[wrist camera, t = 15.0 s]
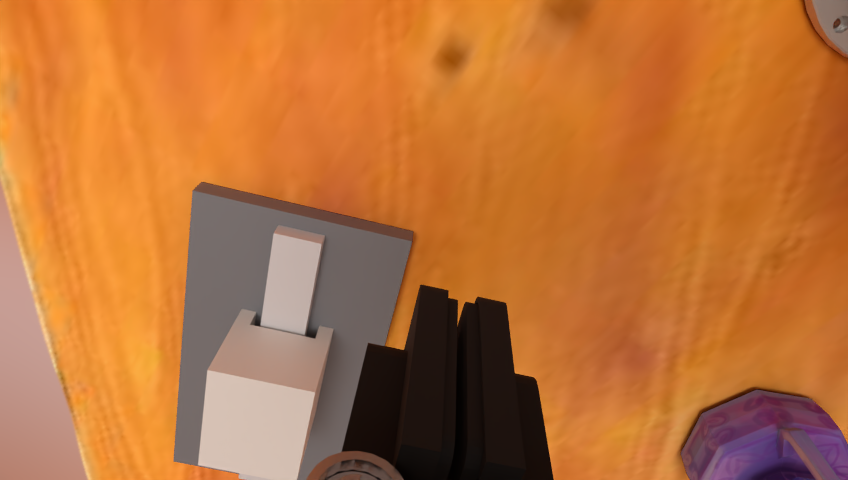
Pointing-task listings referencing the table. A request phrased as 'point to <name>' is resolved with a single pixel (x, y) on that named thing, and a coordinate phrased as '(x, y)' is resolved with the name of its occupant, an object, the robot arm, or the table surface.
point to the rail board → (285, 298)
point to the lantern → (766, 441)
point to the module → (262, 399)
